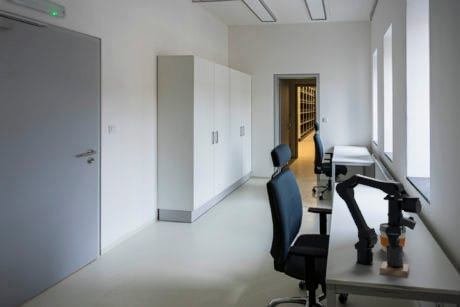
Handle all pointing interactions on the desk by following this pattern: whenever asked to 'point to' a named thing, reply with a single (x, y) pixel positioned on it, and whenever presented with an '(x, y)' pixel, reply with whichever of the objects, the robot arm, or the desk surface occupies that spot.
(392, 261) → the supplement bottle
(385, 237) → the reusable coffee cup
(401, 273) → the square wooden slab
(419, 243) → the desk surface
